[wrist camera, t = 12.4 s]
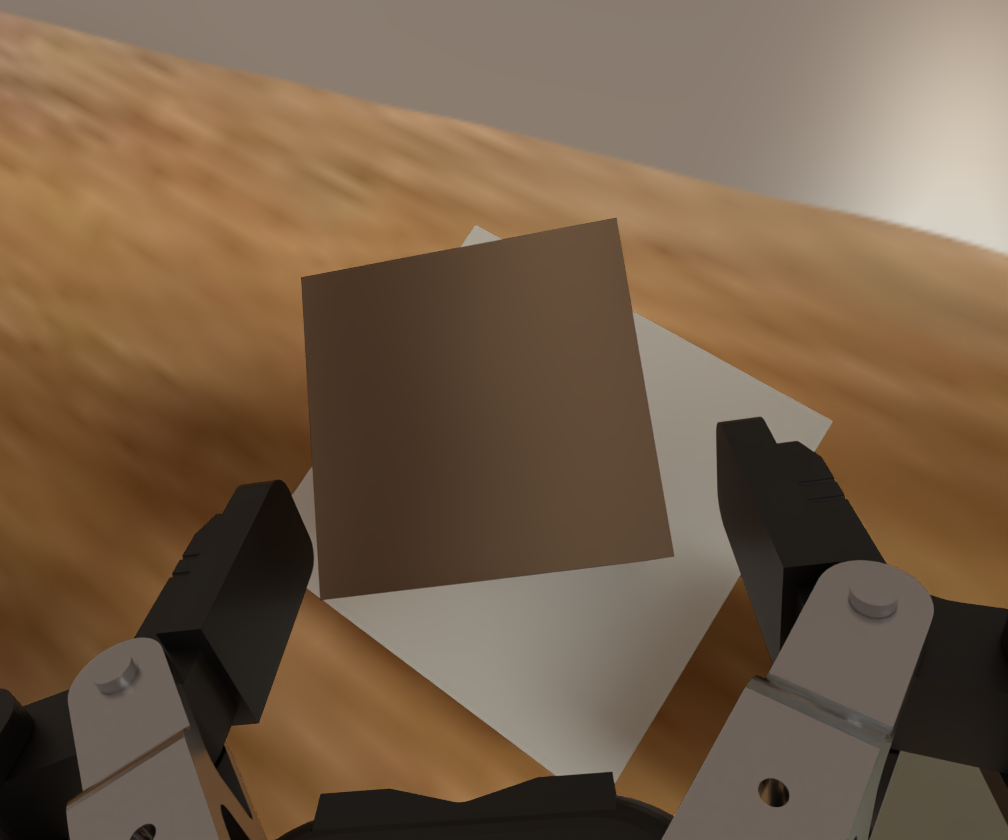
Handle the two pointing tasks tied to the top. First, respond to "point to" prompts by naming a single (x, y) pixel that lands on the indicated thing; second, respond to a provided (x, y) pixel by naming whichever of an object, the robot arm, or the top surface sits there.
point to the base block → (591, 586)
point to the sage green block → (939, 803)
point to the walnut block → (480, 416)
